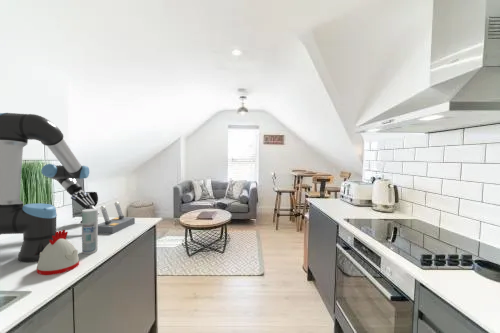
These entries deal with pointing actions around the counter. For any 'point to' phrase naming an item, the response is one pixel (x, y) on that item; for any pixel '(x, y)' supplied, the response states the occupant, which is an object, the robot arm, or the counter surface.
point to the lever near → (105, 215)
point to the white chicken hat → (58, 256)
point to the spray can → (89, 231)
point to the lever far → (119, 210)
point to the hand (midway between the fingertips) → (97, 214)
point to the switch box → (115, 225)
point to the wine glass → (93, 197)
